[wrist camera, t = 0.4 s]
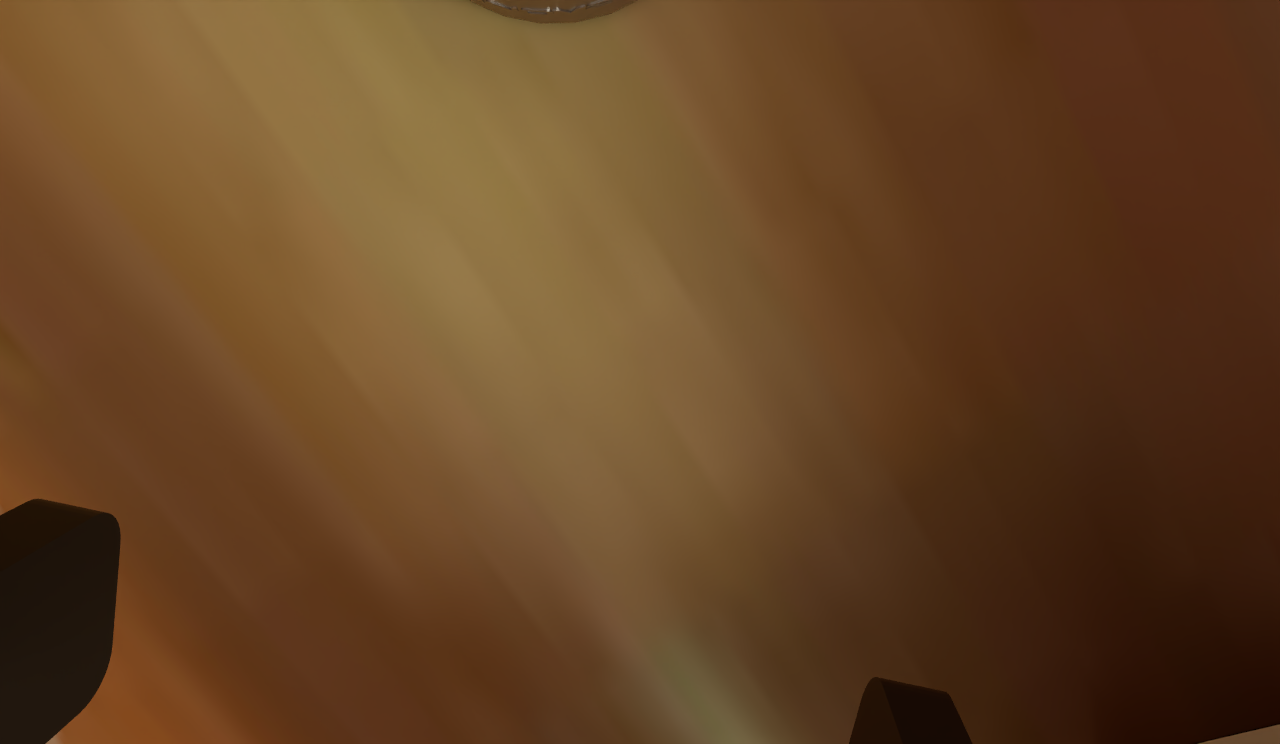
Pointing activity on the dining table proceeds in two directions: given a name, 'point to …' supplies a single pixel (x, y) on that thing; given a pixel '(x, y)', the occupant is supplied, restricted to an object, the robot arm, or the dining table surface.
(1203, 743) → the block
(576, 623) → the dining table surface
